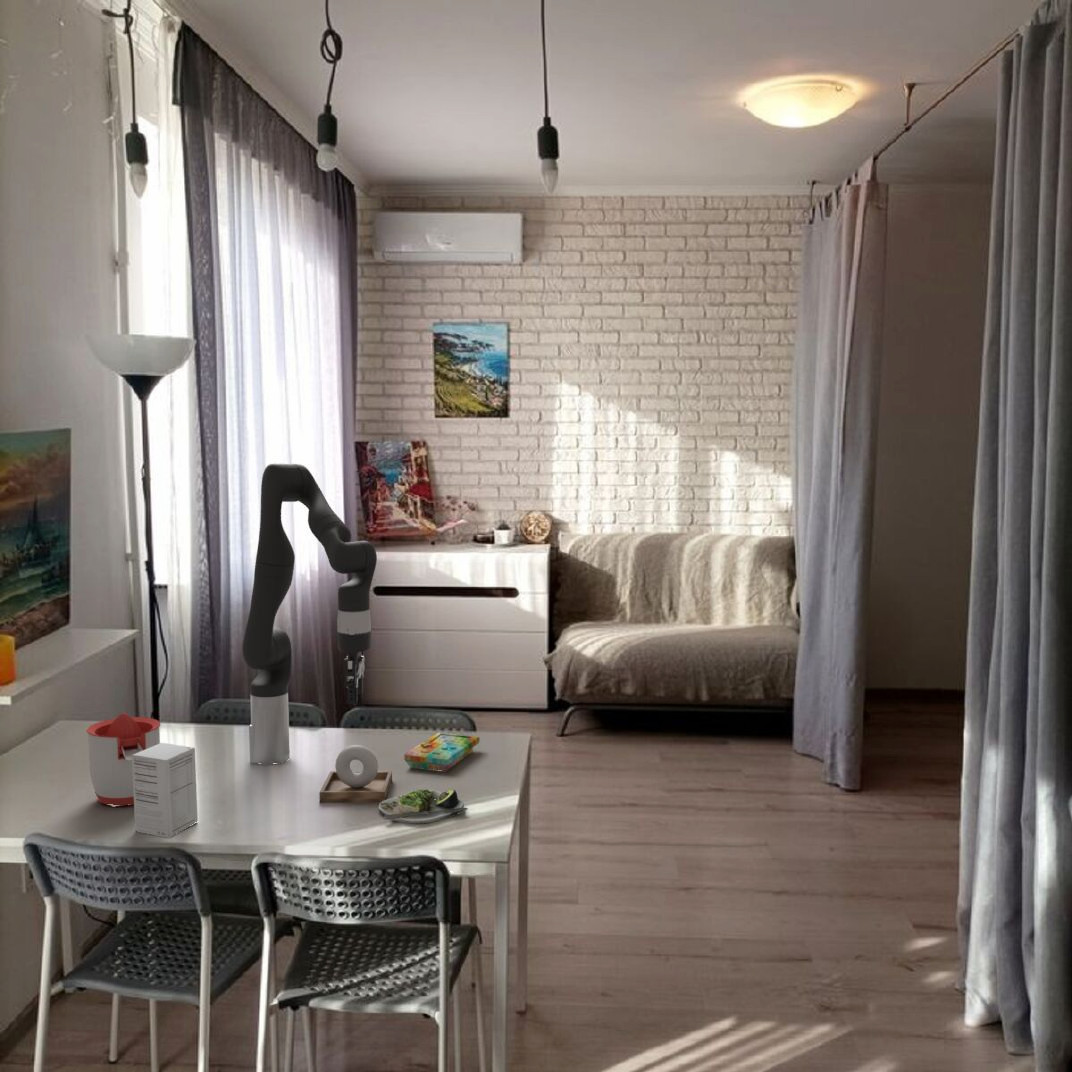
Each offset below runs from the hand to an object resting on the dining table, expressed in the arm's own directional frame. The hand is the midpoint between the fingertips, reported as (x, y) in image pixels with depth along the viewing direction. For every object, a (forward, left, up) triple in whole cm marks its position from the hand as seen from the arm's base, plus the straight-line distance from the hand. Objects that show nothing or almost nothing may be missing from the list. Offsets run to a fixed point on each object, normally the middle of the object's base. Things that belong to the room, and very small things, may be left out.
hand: (355, 698), depth 261 cm
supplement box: (-37, -22, -22) cm, 48 cm away
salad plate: (+17, -12, -23) cm, 30 cm away
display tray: (0, 0, -22) cm, 22 cm away
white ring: (0, 0, -21) cm, 21 cm away
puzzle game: (+18, +24, -23) cm, 38 cm away
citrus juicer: (-51, -5, -22) cm, 56 cm away
